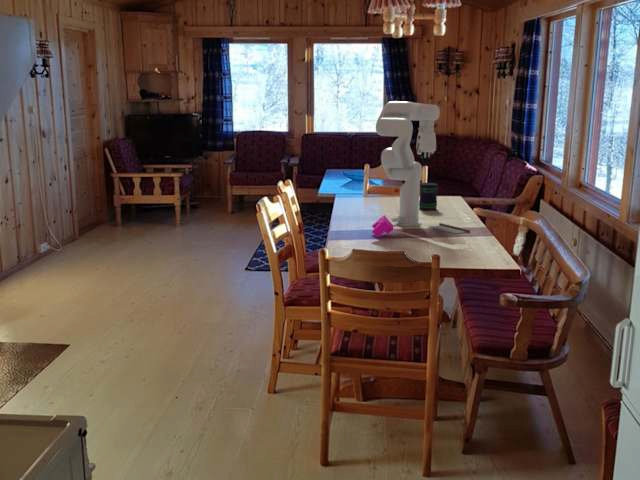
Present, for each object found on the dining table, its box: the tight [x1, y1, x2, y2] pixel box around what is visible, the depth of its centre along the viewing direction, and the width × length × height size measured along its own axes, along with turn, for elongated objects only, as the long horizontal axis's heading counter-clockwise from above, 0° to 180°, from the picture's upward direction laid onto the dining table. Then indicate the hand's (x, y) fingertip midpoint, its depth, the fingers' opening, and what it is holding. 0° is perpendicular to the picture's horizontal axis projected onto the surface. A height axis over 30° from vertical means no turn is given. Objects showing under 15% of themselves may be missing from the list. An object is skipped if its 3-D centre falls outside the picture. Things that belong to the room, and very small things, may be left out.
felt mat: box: [428, 224, 467, 235], centre depth 307 cm, size 7×18×1 cm, turn 32°
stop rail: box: [438, 222, 471, 234], centre depth 309 cm, size 1×20×1 cm, turn 32°
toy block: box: [371, 214, 394, 238], centre depth 295 cm, size 15×6×8 cm
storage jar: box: [419, 182, 439, 212], centre depth 359 cm, size 10×10×15 cm
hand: (425, 165), depth 336 cm, fingers closed
